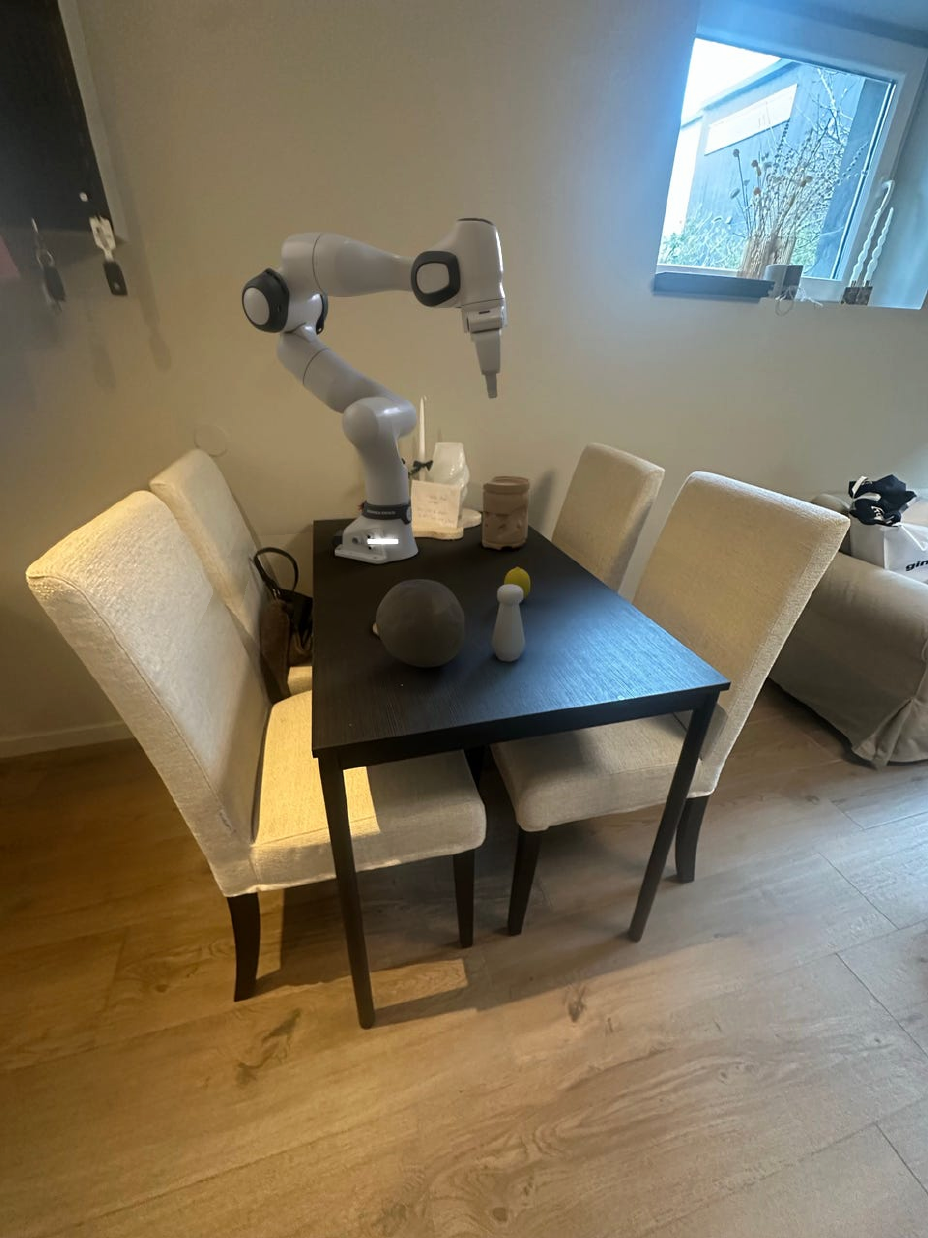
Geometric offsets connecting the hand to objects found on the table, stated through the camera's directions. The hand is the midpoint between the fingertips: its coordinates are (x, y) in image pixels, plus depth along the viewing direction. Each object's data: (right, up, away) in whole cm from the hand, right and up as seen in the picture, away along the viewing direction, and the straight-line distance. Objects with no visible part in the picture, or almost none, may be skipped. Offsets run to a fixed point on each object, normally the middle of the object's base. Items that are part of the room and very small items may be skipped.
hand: (492, 395), depth 105 cm
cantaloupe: (-13, -55, -21) cm, 60 cm away
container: (+5, -27, +36) cm, 45 cm away
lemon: (+5, -44, +1) cm, 44 cm away
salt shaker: (+2, -54, -18) cm, 57 cm away
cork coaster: (-19, -49, -9) cm, 53 cm away
